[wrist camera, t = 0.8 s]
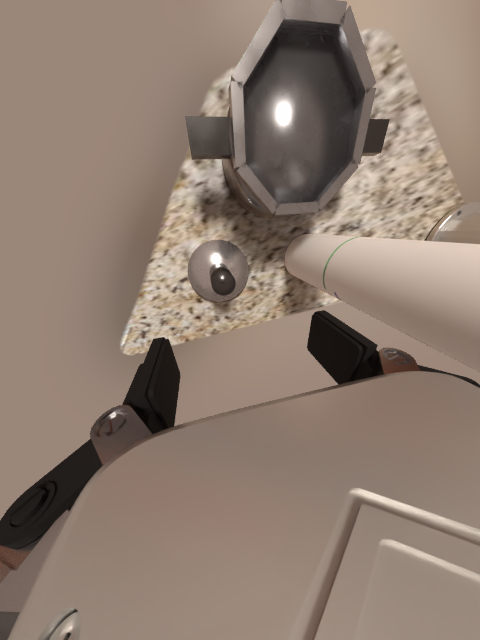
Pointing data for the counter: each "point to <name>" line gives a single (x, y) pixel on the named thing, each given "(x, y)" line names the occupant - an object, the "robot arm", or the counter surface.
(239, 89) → the pot
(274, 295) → the counter surface
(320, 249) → the cylindrical container
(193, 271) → the lid
